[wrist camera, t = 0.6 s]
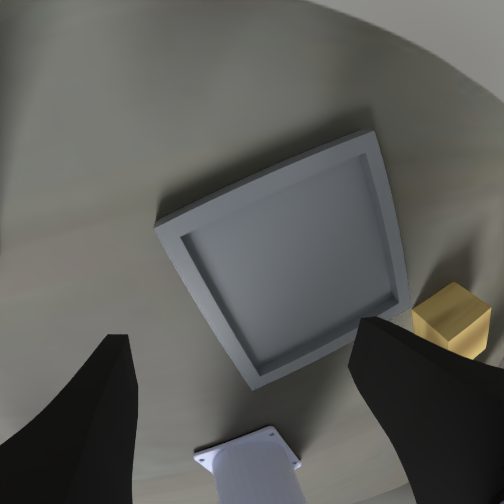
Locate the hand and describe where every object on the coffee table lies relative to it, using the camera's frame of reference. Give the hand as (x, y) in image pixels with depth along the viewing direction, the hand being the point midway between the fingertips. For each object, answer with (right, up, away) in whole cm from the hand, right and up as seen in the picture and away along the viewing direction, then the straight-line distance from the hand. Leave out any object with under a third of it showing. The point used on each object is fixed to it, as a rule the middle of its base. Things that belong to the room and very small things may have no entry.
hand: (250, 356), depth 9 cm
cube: (+16, -3, +16) cm, 23 cm away
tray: (+3, +2, +11) cm, 11 cm away
